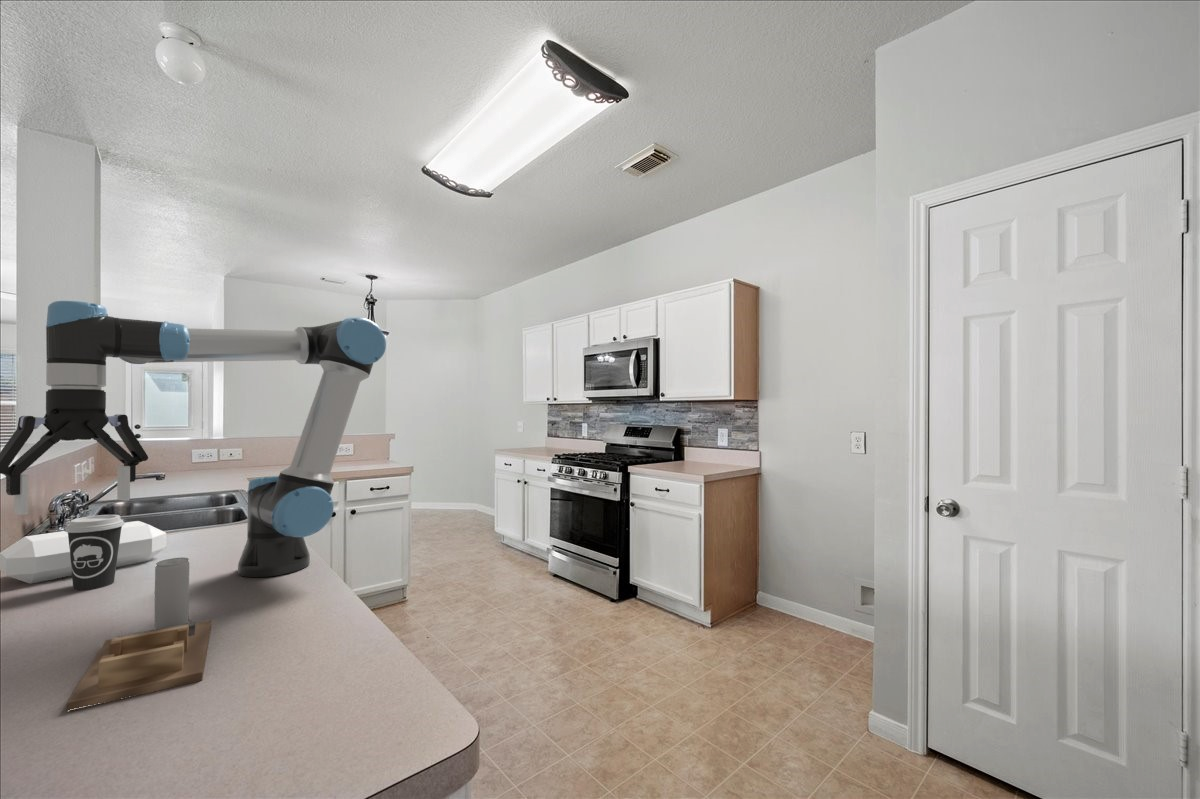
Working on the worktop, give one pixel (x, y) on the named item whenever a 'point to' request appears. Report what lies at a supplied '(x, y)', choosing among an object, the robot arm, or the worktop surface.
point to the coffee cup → (94, 550)
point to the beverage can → (171, 592)
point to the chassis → (144, 664)
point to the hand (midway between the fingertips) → (75, 506)
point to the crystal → (52, 552)
